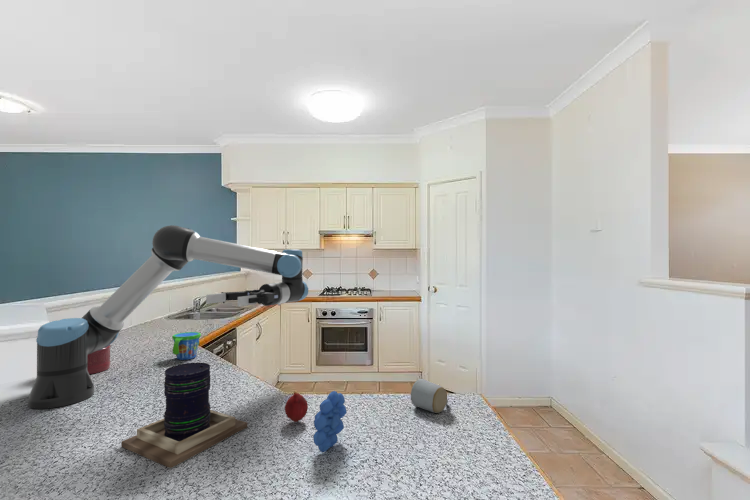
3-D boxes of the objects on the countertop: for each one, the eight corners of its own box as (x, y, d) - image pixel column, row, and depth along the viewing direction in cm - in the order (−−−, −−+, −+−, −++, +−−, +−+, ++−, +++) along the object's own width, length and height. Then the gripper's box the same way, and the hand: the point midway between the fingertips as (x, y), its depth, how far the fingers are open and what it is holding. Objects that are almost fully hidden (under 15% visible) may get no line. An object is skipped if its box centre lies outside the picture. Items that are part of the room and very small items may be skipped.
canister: (116, 369, 139) (117, 323, 139) (75, 378, 128) (75, 328, 128) (102, 363, 146) (102, 319, 146) (61, 372, 135) (62, 325, 135)
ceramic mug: (434, 418, 96) (434, 388, 96) (409, 409, 102) (410, 381, 102) (455, 406, 104) (455, 379, 104) (431, 399, 109) (431, 373, 110)
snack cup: (188, 352, 163) (188, 330, 163) (209, 353, 161) (209, 330, 161) (161, 362, 147) (162, 337, 147) (184, 364, 145) (184, 338, 145)
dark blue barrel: (162, 445, 80) (162, 377, 80) (164, 427, 89) (165, 365, 89) (211, 435, 84) (211, 370, 85) (209, 418, 93) (209, 360, 93)
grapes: (328, 431, 89) (328, 382, 89) (352, 437, 86) (352, 386, 86) (299, 455, 78) (299, 399, 78) (325, 462, 75) (325, 404, 75)
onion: (311, 418, 96) (311, 388, 96) (300, 428, 90) (300, 396, 90) (292, 415, 97) (292, 386, 98) (280, 425, 92) (280, 393, 92)
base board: (121, 446, 82) (121, 432, 82) (200, 412, 99) (200, 401, 99) (170, 468, 73) (170, 452, 73) (247, 427, 91) (247, 414, 91)
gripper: (301, 307, 120) (252, 316, 101) (247, 302, 132) (195, 310, 113) (301, 284, 120) (252, 289, 102) (247, 282, 132) (195, 286, 113)
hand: (222, 300), depth 107 cm, fingers open, 13 cm apart
